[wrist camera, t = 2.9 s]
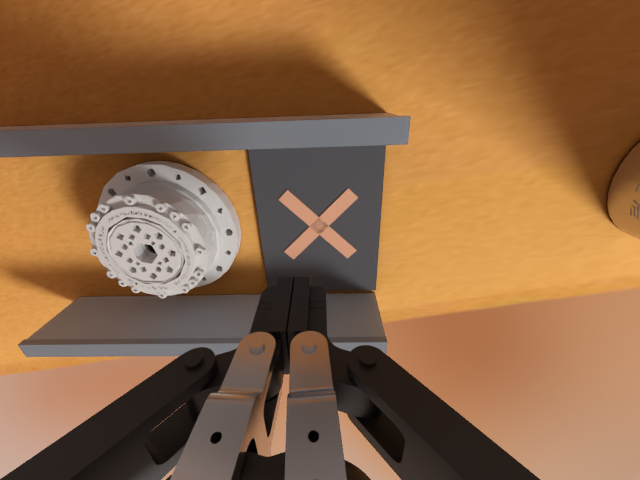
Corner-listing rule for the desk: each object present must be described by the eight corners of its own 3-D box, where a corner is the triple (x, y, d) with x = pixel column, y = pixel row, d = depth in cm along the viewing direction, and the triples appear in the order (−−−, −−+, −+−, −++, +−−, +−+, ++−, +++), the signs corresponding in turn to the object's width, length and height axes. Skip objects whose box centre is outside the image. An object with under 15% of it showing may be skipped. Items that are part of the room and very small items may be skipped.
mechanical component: (151, 127, 18) (89, 226, 22) (103, 135, 15) (37, 254, 18) (268, 224, 21) (197, 297, 25) (255, 252, 18) (173, 335, 21)
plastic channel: (387, 111, 17) (410, 116, 13) (374, 303, 24) (385, 354, 19) (-12, 125, 18) (-135, 135, 13) (84, 306, 25) (26, 356, 20)
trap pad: (385, 138, 18) (386, 138, 18) (375, 287, 24) (375, 290, 23) (248, 142, 19) (246, 143, 18) (269, 289, 24) (268, 292, 24)
